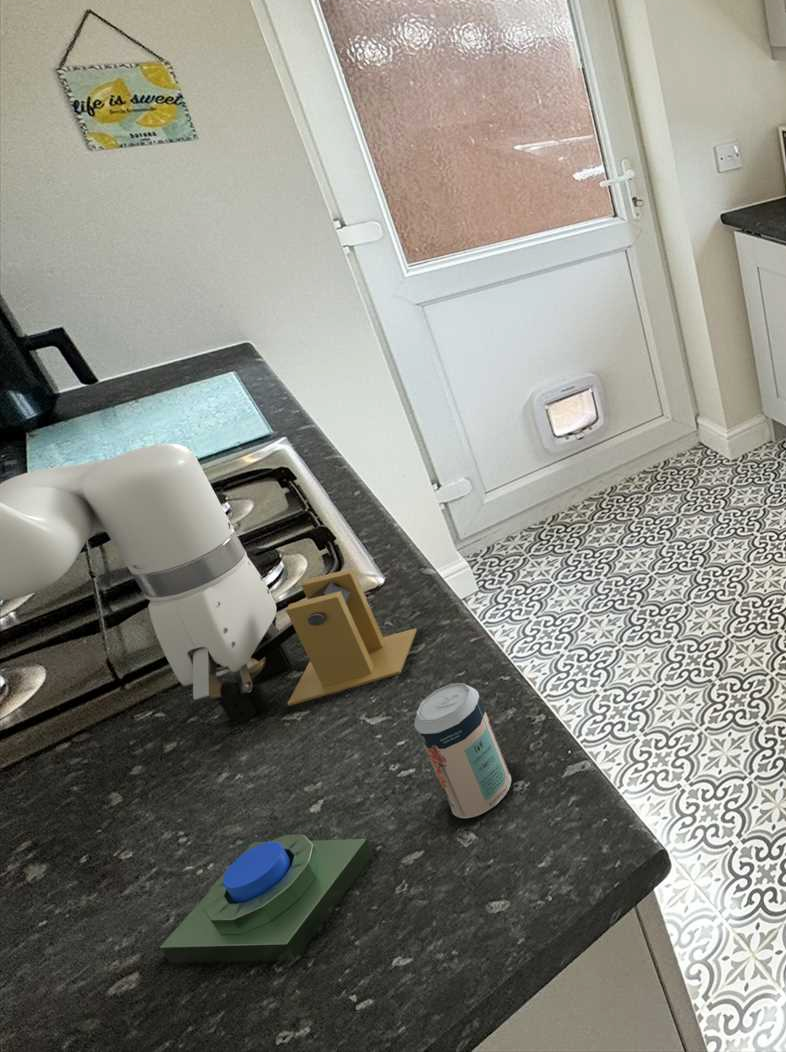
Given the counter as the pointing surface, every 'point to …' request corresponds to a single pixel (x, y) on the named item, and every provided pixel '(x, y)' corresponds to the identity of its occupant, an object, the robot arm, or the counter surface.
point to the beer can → (463, 749)
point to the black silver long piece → (283, 635)
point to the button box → (271, 907)
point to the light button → (256, 871)
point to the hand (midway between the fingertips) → (265, 695)
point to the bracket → (342, 639)
